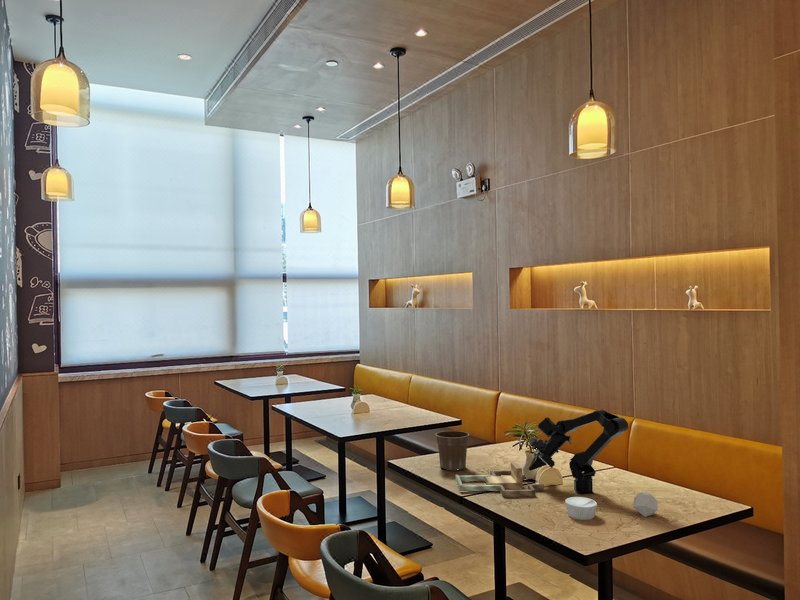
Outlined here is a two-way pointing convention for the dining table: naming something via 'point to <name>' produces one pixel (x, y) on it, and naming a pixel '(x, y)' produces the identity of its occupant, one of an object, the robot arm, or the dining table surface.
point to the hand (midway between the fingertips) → (529, 469)
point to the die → (645, 504)
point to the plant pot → (452, 449)
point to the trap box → (505, 493)
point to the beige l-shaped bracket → (508, 478)
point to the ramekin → (581, 508)
